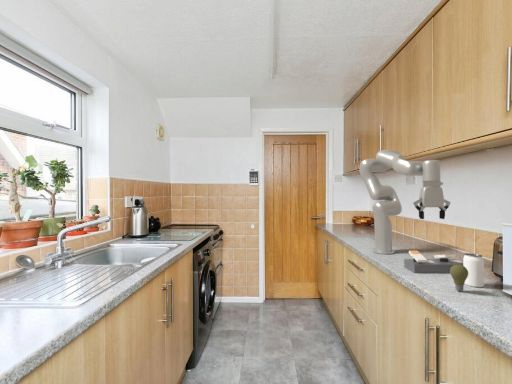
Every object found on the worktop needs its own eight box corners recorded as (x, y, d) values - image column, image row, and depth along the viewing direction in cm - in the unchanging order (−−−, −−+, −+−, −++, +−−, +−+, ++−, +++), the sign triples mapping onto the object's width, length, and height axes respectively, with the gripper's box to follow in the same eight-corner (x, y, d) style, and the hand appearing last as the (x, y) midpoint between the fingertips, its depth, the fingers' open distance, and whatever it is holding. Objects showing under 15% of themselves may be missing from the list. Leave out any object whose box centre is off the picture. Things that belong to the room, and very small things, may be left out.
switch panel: (404, 267, 137) (404, 256, 137) (454, 267, 136) (454, 255, 136) (414, 273, 127) (414, 261, 127) (469, 273, 126) (469, 261, 126)
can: (461, 284, 111) (461, 254, 111) (466, 281, 115) (465, 252, 115) (482, 289, 106) (481, 257, 106) (486, 285, 110) (485, 254, 110)
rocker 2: (434, 257, 135) (434, 255, 136) (443, 257, 135) (442, 255, 136) (445, 257, 127) (444, 254, 127) (454, 257, 126) (453, 254, 127)
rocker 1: (408, 253, 137) (409, 250, 136) (417, 253, 136) (417, 250, 136) (417, 262, 128) (418, 259, 127) (426, 262, 128) (427, 259, 127)
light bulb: (446, 288, 106) (446, 262, 106) (460, 288, 107) (459, 262, 107) (458, 294, 101) (457, 266, 101) (472, 293, 101) (472, 266, 101)
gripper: (445, 184, 142) (445, 218, 142) (409, 185, 144) (410, 218, 144) (454, 184, 135) (454, 219, 135) (417, 184, 136) (417, 219, 136)
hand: (431, 218), depth 139 cm, fingers open, 9 cm apart
